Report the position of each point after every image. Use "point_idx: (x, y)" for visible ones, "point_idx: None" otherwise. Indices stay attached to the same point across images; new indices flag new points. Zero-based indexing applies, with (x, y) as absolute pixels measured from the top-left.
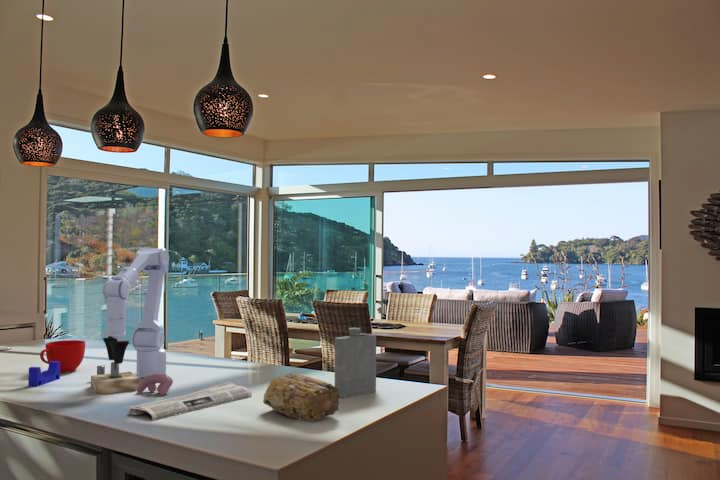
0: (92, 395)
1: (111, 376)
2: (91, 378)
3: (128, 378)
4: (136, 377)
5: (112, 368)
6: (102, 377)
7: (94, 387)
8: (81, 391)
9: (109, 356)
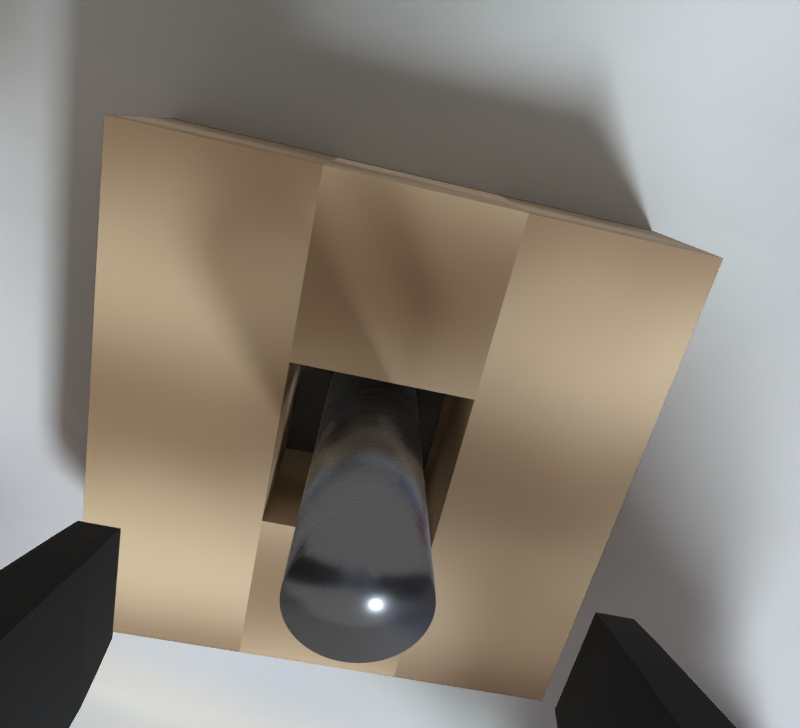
0: (145, 19)
1: (354, 415)
2: (668, 242)
3: (134, 528)
4: (137, 613)
5: (326, 485)
6: (453, 322)
7: (439, 182)
8: (488, 16)
9: (624, 673)
